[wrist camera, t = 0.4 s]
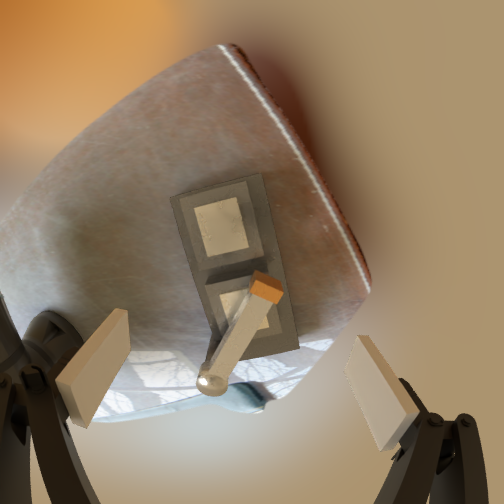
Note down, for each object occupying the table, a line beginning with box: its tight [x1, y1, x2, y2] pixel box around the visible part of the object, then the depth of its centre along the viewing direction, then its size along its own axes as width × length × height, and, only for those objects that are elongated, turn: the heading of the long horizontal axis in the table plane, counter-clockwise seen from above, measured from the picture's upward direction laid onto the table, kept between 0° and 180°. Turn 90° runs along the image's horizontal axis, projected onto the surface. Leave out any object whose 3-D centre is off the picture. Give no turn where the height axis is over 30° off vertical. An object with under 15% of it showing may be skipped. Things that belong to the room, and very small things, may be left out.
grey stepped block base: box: [170, 173, 300, 362], centre depth 36 cm, size 14×26×8 cm, turn 14°
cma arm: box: [196, 270, 284, 396], centre depth 31 cm, size 18×4×3 cm, turn 154°
